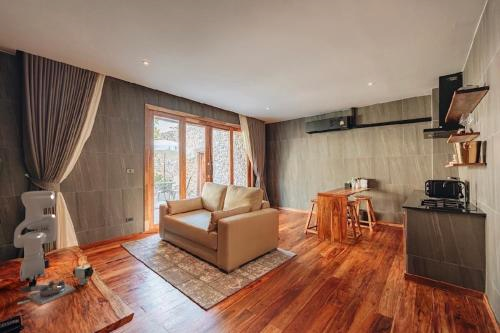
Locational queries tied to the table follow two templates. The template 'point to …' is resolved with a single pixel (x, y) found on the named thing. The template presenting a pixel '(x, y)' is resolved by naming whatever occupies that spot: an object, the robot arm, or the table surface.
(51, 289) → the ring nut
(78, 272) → the pneumatic valve
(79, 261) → the table surface
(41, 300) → the flange plate
